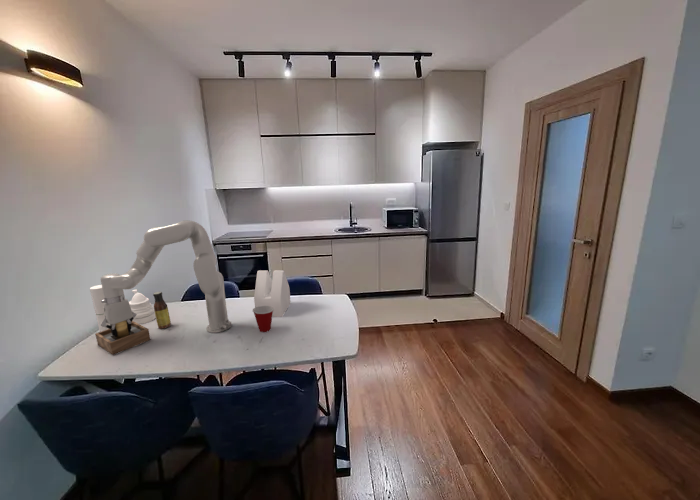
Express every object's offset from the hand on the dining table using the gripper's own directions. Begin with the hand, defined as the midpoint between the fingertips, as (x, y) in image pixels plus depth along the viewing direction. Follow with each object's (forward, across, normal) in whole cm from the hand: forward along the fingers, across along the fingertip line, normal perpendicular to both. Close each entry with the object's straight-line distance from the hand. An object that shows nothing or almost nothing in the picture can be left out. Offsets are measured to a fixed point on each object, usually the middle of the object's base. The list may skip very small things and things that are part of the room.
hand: (122, 333), depth 148 cm
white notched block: (+5, +65, -37) cm, 75 cm away
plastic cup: (+5, +45, -52) cm, 69 cm away
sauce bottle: (+5, +19, 0) cm, 20 cm away
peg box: (+5, 0, 0) cm, 5 cm away
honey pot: (+5, +17, +21) cm, 28 cm away
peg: (+1, 0, 0) cm, 1 cm away
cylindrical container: (+5, +1, +23) cm, 24 cm away
